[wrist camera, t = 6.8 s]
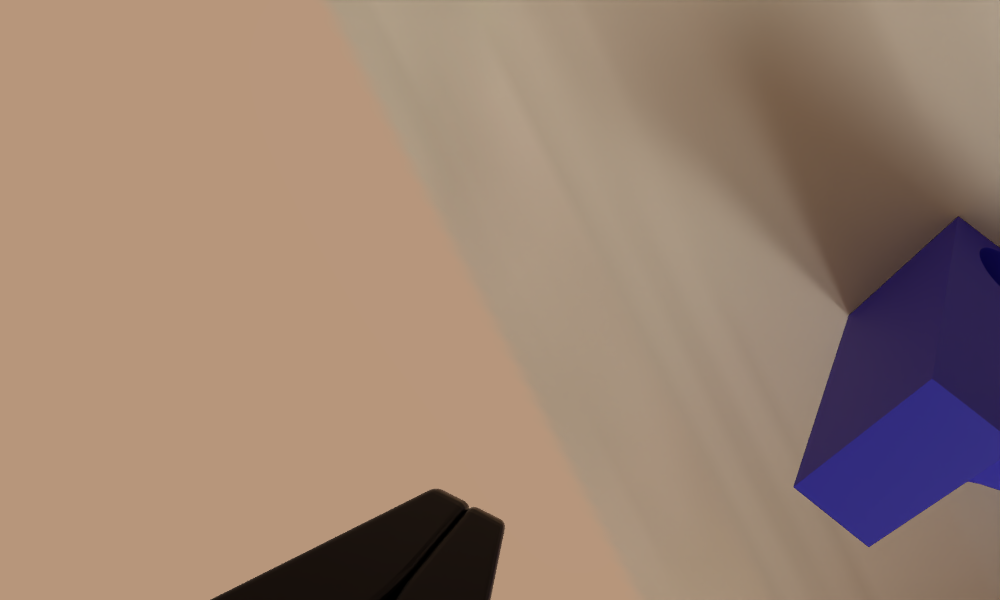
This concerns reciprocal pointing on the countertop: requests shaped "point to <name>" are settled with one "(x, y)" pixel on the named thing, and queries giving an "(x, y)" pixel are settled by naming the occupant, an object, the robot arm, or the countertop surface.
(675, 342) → the countertop surface
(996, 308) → the cable clip
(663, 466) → the countertop surface
